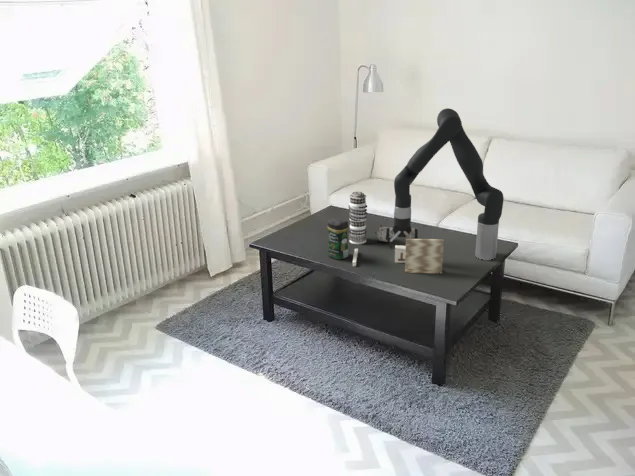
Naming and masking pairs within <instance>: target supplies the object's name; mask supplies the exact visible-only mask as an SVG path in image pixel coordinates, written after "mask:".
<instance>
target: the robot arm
mask: <svg viewBox="0 0 635 476" xmlns="http://www.w3.org/2000/svg"><path fill="white" fill-rule="evenodd" d="M436 123H437V126H438V129H437V130H436V132H435V134H434V135H433V136H432V137H431V139H430V140H428V141H427V142H426V143H424V144H423V145H421V146H420V147H419V148H417V150H416V151H415V153H414V154H412V155H411V158H410V159H409V160H408V161H407V163H406V164H405V166H404V167H403V168H402V170H401V171H400V172H399V173H398V174H397V175H396V176H395V178H394V181H393V183H394V184H393V187H394V195H395V199H394V209H393V210H394V211H393V226H387V231H386V240H388V242H389V249H391V250H394V249H393V248H394V245H393V243H394V242H393V241H394V240H395V239H396V238H397V237H398V238H406V239H419V238H418V236H419V235H418V234H419V233H418V227H416V226H415V227H411V226H412V225H411V224H412V223H411V222H412V195H411V193H410V192H411V191H410V186H411V184H413V182H414V181H415V179H416V178H417V177H418V175H419V174H420V173H421V172H422V171H423V169H424V168H425V167H426V166H427V165H428V164H429V162H430V161H431V160H432V159H433V158H434V157H435V155H436V154H437V153H438V152H439V151H440V150H441V149H442V148H444V146H446V145H447V144H448V143H450V146H451V148H452V152H453V154H454V157H455V159H456V161H457V163H458V165H459V168H460V169H461V170H462V172H463V174H464V176H465V178H466V179H467V181H468V183H469V184H470V186H471V189H472V191H473V194H474V197H475V199H476V201H477V202H478V204H479V205H481V206H483V207H484V211H483V212H481V213H479V215H478V216H477V227H476V228H477V229H476V241H475V242H476V243H475V253H474V254H475V255H474V256H476V257H477V258H476V257H475V258H476V259H478V258H479V259H478V260H481V259H483V260H482V261H492V260H491V259H493V260H495V259H496V258H497V250H498V247H497V246H498V239H499V238H498V235H499V226H500V219H501V217H502V213H503V208H504V193H503V192H502V191H501V190H500V189H498V188H496V187H493V186H491V184H490V183H489V182H488V180H487V179H486V177H485V175H484V163H483V160H482V158H481V156H480V153H479V152H478V150H477V149H476V147H475V145H474V144H473V142H472V140H470V138H469V136H468V135H467V133H466V131H465V130H464V127H463V124H462V119H461V117H460V116H459V113H458V112H457V111H456V110H454V109H452V108H447V107H446V108H444V109H442V110H440V111H439V113H438V115H437V117H436ZM389 232H391V233H392V232H393V233H392V236H391V238H390V237H389ZM411 232H412V233H413V234H414V237H413V236H412V235H411V234H410V233H411ZM494 258H495V259H494Z"/></svg>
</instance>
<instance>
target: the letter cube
mask: <svg viewBox="0 0 635 476" xmlns="http://www.w3.org/2000/svg"><path fill="white" fill-rule="evenodd" d="M405 254H406V245H395V246H394V263H395V264H397V263H399V264H401V263H402V264H403V263H404V264H405Z"/></svg>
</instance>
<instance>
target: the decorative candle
mask: <svg viewBox="0 0 635 476" xmlns="http://www.w3.org/2000/svg"><path fill="white" fill-rule="evenodd" d="M366 197H367V195H366V194H365V193H364V192H362V191H354V192H352V193H351V194H350V195H349V205H348V217H349V218H348V219H349V221H350V222H349V227H348V232H349V234H348V236H349V237H348V239H349V241H348V242H349V243H350V244H354V245H362V244H365V243H366V242H367V224H366V220H367V218H368V216H366V215H367V214H368V209H367V208H368V205H367V200H366Z"/></svg>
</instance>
